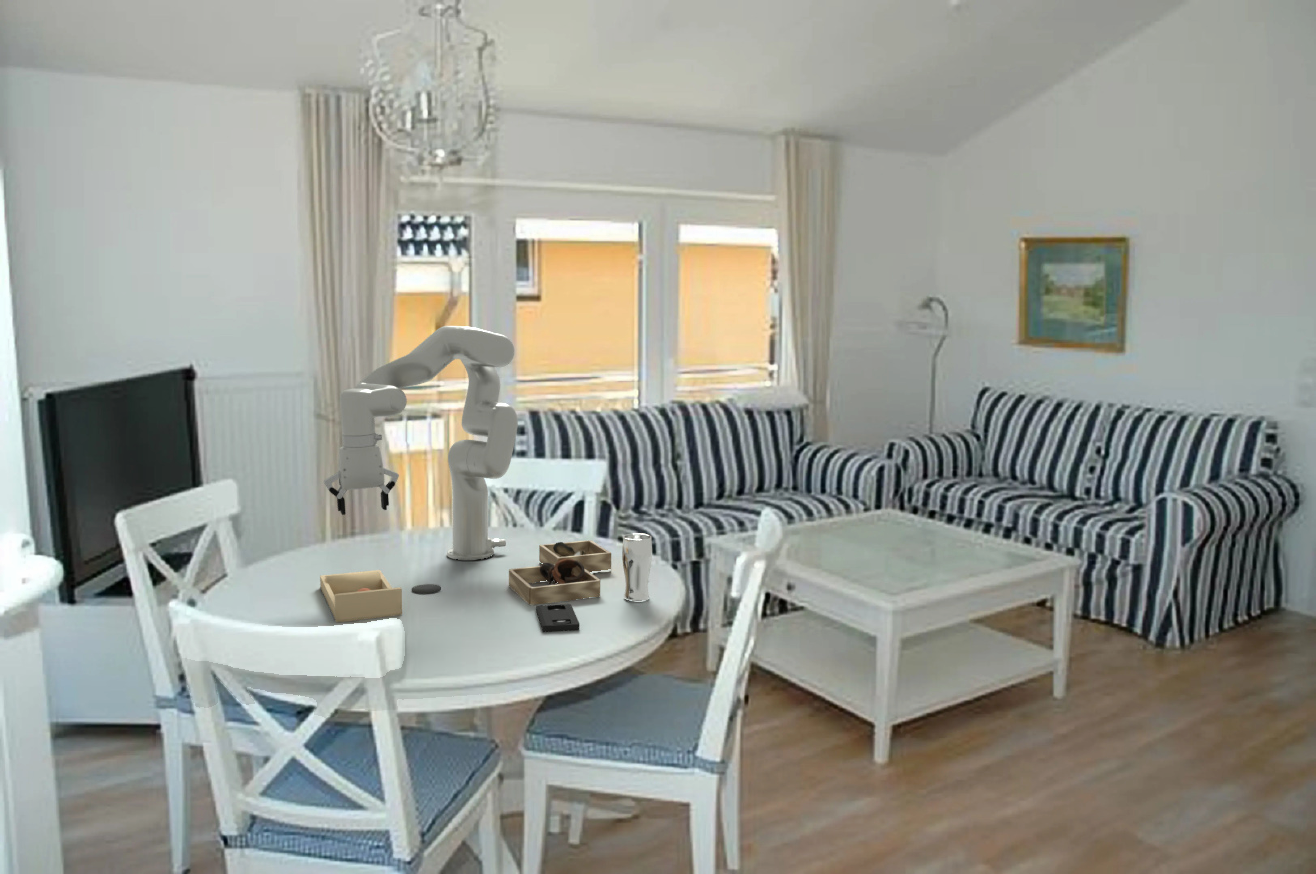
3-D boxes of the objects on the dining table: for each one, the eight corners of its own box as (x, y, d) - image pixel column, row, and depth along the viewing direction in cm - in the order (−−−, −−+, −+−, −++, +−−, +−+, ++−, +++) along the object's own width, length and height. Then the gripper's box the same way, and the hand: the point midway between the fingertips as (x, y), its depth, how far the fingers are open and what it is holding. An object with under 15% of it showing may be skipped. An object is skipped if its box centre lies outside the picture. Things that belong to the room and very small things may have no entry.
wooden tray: (590, 558, 272) (590, 540, 271) (611, 571, 258) (611, 552, 258) (539, 563, 265) (539, 544, 265) (557, 577, 252) (557, 558, 252)
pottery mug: (588, 584, 248) (593, 561, 244) (576, 611, 241) (580, 587, 236) (543, 570, 250) (546, 546, 245) (529, 595, 242) (532, 571, 237)
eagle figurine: (585, 559, 266) (552, 552, 266) (588, 541, 261) (554, 534, 262) (579, 580, 260) (546, 573, 261) (582, 562, 256) (548, 555, 256)
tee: (437, 584, 244) (437, 582, 244) (444, 592, 238) (444, 590, 238) (408, 587, 241) (408, 586, 241) (414, 595, 235) (414, 593, 235)
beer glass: (629, 604, 231) (630, 541, 229) (616, 596, 237) (617, 534, 235) (656, 601, 234) (657, 538, 232) (643, 593, 240) (644, 532, 238)
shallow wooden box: (575, 577, 252) (575, 562, 252) (601, 597, 237) (601, 580, 236) (507, 585, 245) (507, 569, 244) (530, 605, 229) (530, 588, 229)
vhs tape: (579, 633, 213) (579, 623, 212) (542, 635, 211) (542, 625, 211) (570, 612, 226) (570, 603, 226) (535, 614, 225) (535, 605, 224)
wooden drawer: (380, 597, 246) (379, 558, 245) (402, 632, 221) (401, 588, 220) (320, 603, 240) (319, 563, 239) (336, 640, 215) (335, 595, 214)
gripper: (393, 435, 244) (397, 503, 247) (319, 441, 236) (323, 512, 239) (399, 440, 237) (403, 510, 240) (323, 447, 230) (328, 519, 233)
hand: (363, 511), depth 240 cm, fingers open, 9 cm apart
